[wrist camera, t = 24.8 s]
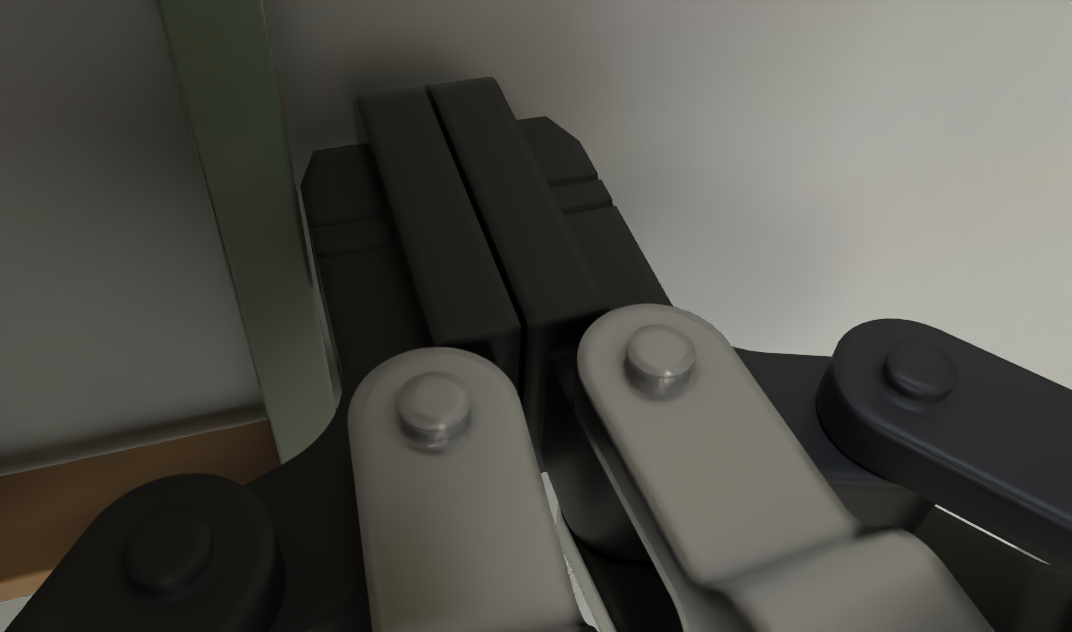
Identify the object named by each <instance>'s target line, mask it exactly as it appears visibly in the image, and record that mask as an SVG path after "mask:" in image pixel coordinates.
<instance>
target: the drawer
mask: <svg viewBox="0 0 1072 632" xmlns="http://www.w3.org/2000/svg"><path fill="white" fill-rule="evenodd" d="M154 2H155V6H156V10H157V13H158V17H159V21H160V24H161V28H162V32H163V35H164V39H165V43H166V46H167V50H168V54H169V57H170V61H171V65H172V68H173V72H174V76H175V79H176V83H177V87H178V90H179V94H180V98H181V101H182V105H183V109H184V112H185V116H186V120H187V123H188V127H189V131H190V134H191V138H192V142H193V145H194V149H195V153H196V156H197V160H198V164H199V167H200V171H201V175H202V178H203V182H204V186H205V189H206V193H207V196H208V200H209V204H210V207H211V211H212V215H213V218H214V222H215V226H216V229H217V233H218V237H219V240H220V244H221V248H222V251H223V255H224V259H225V262H226V266H227V270H228V273H229V277H230V281H231V284H232V288H233V292H234V295H235V299H236V303H237V306H238V310H239V314H240V317H241V321H242V325H243V328H244V332H245V336H246V339H247V343H248V347H249V350H250V354H251V358H252V361H253V365H254V369H255V372H256V376H257V380H258V383H259V387H260V391H261V394H262V398H263V401H264V405H265V409H266V412H267V416H268V420H265V421H260V422H255V423H250V424H246V425H241V426H236V427H232V428H227V429H222V430H218V431H213V432H208V433H203V434H199V435H194V436H189V437H185V438H180V439H175V440H171V441H166V442H161V443H156V444H152V445H147V446H142V447H138V448H133V449H128V450H124V451H119V452H114V453H109V454H105V455H100V456H95V457H91V458H86V459H81V460H76V461H72V462H67V463H62V464H58V465H53V466H48V467H44V468H39V469H34V470H29V471H25V472H20V473H15V474H11V475H6V476H1V477H0V602H2V601H6V600H10V599H14V598H18V597H23V596H27V595H31V594H35V592H36V591H37V590H38V589H39V587H40V586H41V585H42V584H43V582H44V581H45V580H46V579H47V577H48V576H49V575H50V574H51V572H52V571H53V570H54V569H55V567H56V566H57V565H58V564H59V562H60V561H61V560H62V559H63V557H64V556H65V555H66V554H67V552H68V551H69V550H70V549H71V547H72V546H73V545H74V544H75V542H76V541H77V540H78V539H79V537H80V536H81V535H82V534H83V532H84V531H85V530H86V529H87V527H88V526H89V525H90V524H91V523H92V522H93V521H94V519H95V518H96V517H97V516H98V515H99V514H100V513H101V512H102V511H103V510H104V509H105V508H107V507H108V506H109V505H110V504H111V503H113V502H114V501H115V500H116V499H118V498H120V497H121V496H123V495H124V494H126V493H127V492H129V491H131V490H133V489H135V488H137V487H139V486H141V485H143V484H145V483H147V482H150V481H153V480H157V479H160V478H163V477H167V476H172V475H178V474H189V473H202V474H211V475H217V476H220V477H224V478H228V479H230V480H232V481H234V482H236V483H239V484H241V485H245V484H247V483H249V482H251V481H252V480H254V479H256V478H258V477H260V476H262V475H263V474H265V473H267V472H269V471H271V470H273V469H274V468H276V467H278V466H280V465H282V464H284V463H285V462H287V461H289V460H290V459H292V458H293V457H295V456H297V455H298V454H300V453H301V452H302V451H304V450H305V449H306V448H307V447H309V446H310V445H311V444H312V443H313V442H314V441H315V440H316V439H317V438H318V437H319V436H320V435H321V434H322V433H323V432H324V430H325V429H326V427H327V426H328V424H329V423H330V422H331V420H332V419H333V416H334V414H335V412H336V410H337V408H335V402H334V397H333V391H332V386H331V380H330V374H329V369H328V363H327V358H326V352H325V346H324V341H323V335H322V330H321V324H320V318H319V313H318V307H317V302H316V296H315V290H314V285H313V279H312V274H311V268H310V262H309V257H308V251H307V246H306V240H305V234H304V229H303V223H302V218H301V212H300V206H299V201H298V195H297V190H296V184H295V179H294V173H293V167H292V162H291V156H290V151H289V145H288V139H287V134H286V128H285V123H284V117H283V111H282V106H281V100H280V95H279V89H278V83H277V78H276V72H275V67H274V61H273V55H272V50H271V44H270V39H269V33H268V27H267V22H266V16H265V11H264V5H263V0H154Z"/></svg>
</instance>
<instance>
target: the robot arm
mask: <svg viewBox="0 0 1072 632" xmlns="http://www.w3.org/2000/svg"><path fill="white" fill-rule="evenodd" d="M353 108H354V118H355V126H356V135H357V143H358V144H357V145H350V146H343V147H337V148H330V149H323V150H317V151H313V154H312V157H311V159H310V162H309V164H308V167H307V170H306V172H305V175H304V177H303V180H302V182H301V185H300V187H301V192H302V198H303V203H304V209H305V214H306V219H307V225H308V230H309V236H310V241H311V247H312V252H313V257H314V263H315V268H316V274H317V279H318V285H319V290H320V294H321V299H322V303H323V308H324V312H325V317H326V322H327V326H328V330H329V335H330V340H331V344H332V349H333V353H334V357H335V362H336V367H337V371H338V376H339V381H340V385H341V390H342V395H341V398H340V402H339V406H338V408H337V410H336V412H335V414H334V416H333V419H332V420H331V422H330V423H329V424H328V426H327V427H326V429H325V430H324V432H323V433H322V434H321V435H320V436H319V437H318V438H317V439H316V440H315V441H314V442H313V443H312V444H311V445H310V446H309V447H307V448H306V449H305V450H304V451H302V452H301V453H300V454H298V455H297V456H295V457H293V458H292V459H290V460H289V461H287V462H285V463H284V464H282V465H280V466H278V467H276V468H274V469H273V470H271V471H269V472H267V473H265V474H263V475H262V476H260V477H258V478H256V479H254V480H252V481H251V482H249V483H247V484H245V485H241V484H239V483H236V482H234V481H232V480H230V479H228V478H224V477H220V476H217V475H211V474H202V473H189V474H178V475H172V476H167V477H163V478H160V479H157V480H153V481H150V482H147V483H145V484H143V485H141V486H139V487H137V488H135V489H133V490H131V491H129V492H127V493H126V494H124V495H123V496H121V497H120V498H118V499H116V500H115V501H114V502H113V503H111V504H110V505H109V506H108V507H107V508H105V509H104V510H103V511H102V512H101V513H100V514H99V515H98V516H97V517H96V518H95V519H94V521H93V522H92V523H91V524H90V525H89V526H88V527H87V529H86V530H85V531H84V532H83V534H82V535H81V536H80V537H79V539H78V540H77V541H76V542H75V544H74V545H73V546H72V547H71V549H70V550H69V551H68V552H67V554H66V555H65V556H64V557H63V559H62V560H61V561H60V562H59V564H58V565H57V566H56V567H55V569H54V570H53V571H52V572H51V574H50V575H49V576H48V577H47V579H46V580H45V581H44V582H43V584H42V585H41V586H40V587H39V589H38V590H37V591H36V592H35V594H34V595H33V596H32V597H31V599H30V600H29V601H28V602H27V604H26V605H25V606H24V607H23V609H22V610H21V611H20V612H19V614H18V615H17V616H16V617H15V619H14V620H13V621H12V622H11V624H10V625H9V626H8V627H7V629H6V630H5V631H4V632H598V631H597V630H596V629H595V628H594V627H593V626H590V625H588V624H587V623H586V622H585V620H584V619H583V617H582V615H581V612H580V610H579V607H578V604H577V601H576V598H575V595H574V591H573V588H572V584H571V581H570V577H569V574H568V570H567V566H566V563H565V559H564V556H563V552H564V554H565V556H566V558H567V560H568V563H569V565H570V567H571V569H572V571H573V574H574V576H575V578H576V580H577V582H578V584H579V587H580V589H581V591H582V593H583V595H584V597H585V600H586V602H587V604H588V606H589V608H590V611H591V613H592V615H593V617H594V619H595V621H596V624H597V626H598V628H599V630H600V632H1072V390H1071V389H1068V388H1066V387H1064V386H1062V385H1060V384H1057V383H1055V382H1053V381H1051V380H1049V379H1046V378H1044V377H1042V376H1040V375H1038V374H1036V373H1033V372H1031V371H1029V370H1027V369H1025V368H1022V367H1020V366H1018V365H1016V364H1014V363H1011V362H1009V361H1007V360H1005V359H1003V358H1000V357H998V356H996V355H994V354H992V353H989V352H987V351H985V350H983V349H981V348H978V347H976V346H974V345H972V344H970V343H968V342H965V341H963V340H961V339H959V338H957V337H954V336H952V335H950V334H948V333H946V332H943V331H941V330H939V329H936V328H934V327H931V326H929V325H926V324H922V323H919V322H915V321H910V320H903V319H878V320H872V321H868V322H865V323H862V324H860V325H858V326H856V327H854V328H852V329H851V330H849V331H848V332H847V333H846V334H844V336H843V337H842V338H841V340H840V341H839V342H838V344H837V347H836V349H835V351H834V353H833V355H832V357H829V356H812V355H796V354H780V353H764V352H756V351H748V350H744V349H740V348H735V347H732V346H731V345H730V343H729V342H728V341H727V340H726V338H725V337H724V336H723V335H722V334H721V332H719V331H718V330H717V329H716V328H715V327H714V326H713V325H711V324H710V323H708V322H707V321H705V320H704V319H702V318H701V317H699V316H697V315H695V314H693V313H691V312H688V311H686V310H683V309H680V308H677V307H673V305H672V304H671V302H670V301H669V299H668V297H667V295H666V294H665V292H664V290H663V288H662V286H661V285H660V283H659V281H658V279H657V278H656V276H655V274H654V272H653V271H652V269H651V267H650V265H649V263H648V262H647V260H646V258H645V256H644V255H643V253H642V251H641V249H640V248H639V246H638V244H637V242H636V240H635V239H634V237H633V235H632V233H631V232H630V230H629V228H628V226H627V225H626V223H625V221H624V219H623V217H622V216H621V214H620V212H619V210H618V209H617V207H616V206H613V204H612V198H611V196H610V194H609V193H608V191H607V189H606V187H605V186H604V184H603V182H602V180H598V175H597V174H598V173H597V171H596V170H595V168H594V166H593V164H592V163H591V161H590V159H589V157H588V155H587V154H586V152H585V150H584V148H583V147H582V145H581V143H580V141H578V140H577V139H576V138H574V137H573V136H572V135H570V134H569V133H568V132H566V131H565V130H564V129H562V128H561V127H560V126H558V125H557V124H556V123H554V122H553V121H552V120H550V119H549V118H548V117H546V116H543V117H536V118H529V119H523V120H516V119H515V117H514V115H513V113H512V111H511V109H510V107H509V105H508V103H507V101H506V99H505V97H504V95H503V93H502V91H501V89H500V87H499V85H498V83H497V82H496V80H495V79H494V78H493V77H485V78H478V79H471V80H463V81H456V82H449V83H441V84H434V85H427V86H425V88H424V89H423V87H414V88H406V89H399V90H392V91H384V92H377V93H370V94H362V95H355V96H354V97H353ZM542 472H547V473H548V476H549V478H550V481H551V483H552V486H553V489H554V491H555V494H556V497H557V499H558V510H557V520H556V527H555V524H554V520H553V516H552V513H551V509H550V506H549V502H548V499H547V495H546V491H545V488H544V484H543V481H542V477H541V474H540V473H542ZM936 504H937V505H939V506H941V507H942V508H944V509H946V510H948V511H950V512H952V513H954V514H956V515H958V516H960V517H961V518H963V519H965V520H967V521H969V522H971V523H973V524H975V525H977V526H979V527H981V528H982V529H984V530H986V531H988V532H990V533H992V534H994V535H996V536H998V537H1000V538H1001V539H1003V540H1005V541H1007V542H1009V543H1011V544H1013V545H1015V546H1017V547H1019V548H1021V549H1022V550H1024V551H1026V552H1028V553H1030V554H1032V555H1034V556H1036V557H1038V558H1040V559H1041V560H1043V561H1045V562H1047V563H1049V564H1051V565H1049V564H1046V563H1043V562H1040V561H1038V560H1035V559H1034V558H1032V557H1030V556H1028V555H1026V554H1024V553H1022V552H1020V551H1019V550H1017V549H1015V548H1013V547H1011V546H1009V545H1007V544H1005V543H1003V542H1001V541H1000V540H998V539H996V538H994V537H992V536H990V535H988V534H986V533H984V532H982V531H981V530H979V529H977V528H975V527H973V526H971V525H969V524H967V523H965V522H963V521H962V520H960V519H958V518H956V517H954V516H952V515H950V514H948V513H946V512H944V511H943V510H941V509H939V508H937V507H935V505H936ZM556 529H557V531H556ZM561 547H562V549H561ZM562 550H563V552H562Z"/></svg>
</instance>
